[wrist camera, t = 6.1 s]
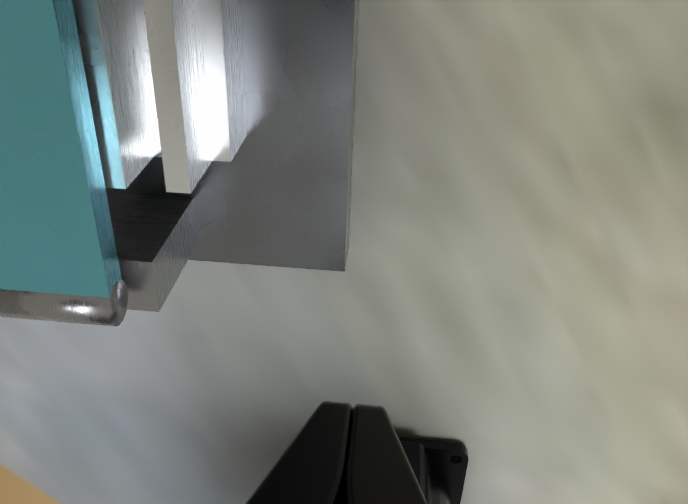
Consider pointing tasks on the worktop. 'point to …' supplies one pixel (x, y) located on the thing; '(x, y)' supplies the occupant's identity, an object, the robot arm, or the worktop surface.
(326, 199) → the heat sink base
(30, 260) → the bar
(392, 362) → the worktop surface
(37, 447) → the worktop surface
